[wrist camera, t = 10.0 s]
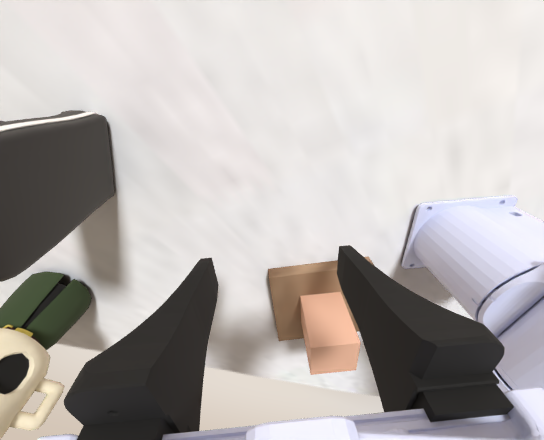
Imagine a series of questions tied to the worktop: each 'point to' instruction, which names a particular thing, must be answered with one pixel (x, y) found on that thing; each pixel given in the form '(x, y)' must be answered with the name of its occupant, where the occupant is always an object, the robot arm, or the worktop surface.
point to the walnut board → (301, 293)
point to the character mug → (34, 344)
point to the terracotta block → (328, 333)
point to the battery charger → (49, 182)
